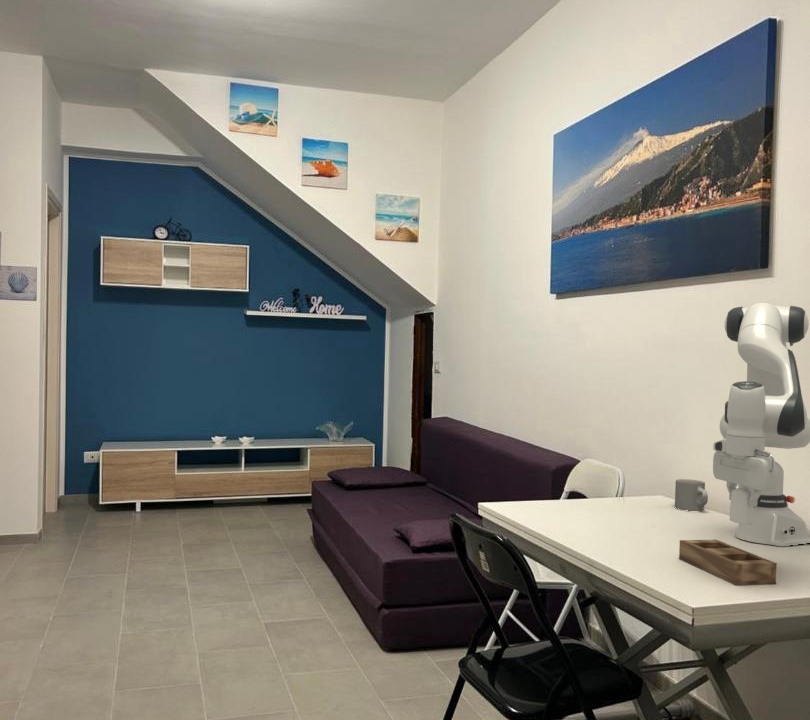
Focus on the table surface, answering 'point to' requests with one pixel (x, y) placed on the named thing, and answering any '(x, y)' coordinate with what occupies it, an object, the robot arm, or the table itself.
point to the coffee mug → (690, 495)
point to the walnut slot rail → (728, 562)
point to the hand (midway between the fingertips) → (742, 503)
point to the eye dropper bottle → (741, 506)
